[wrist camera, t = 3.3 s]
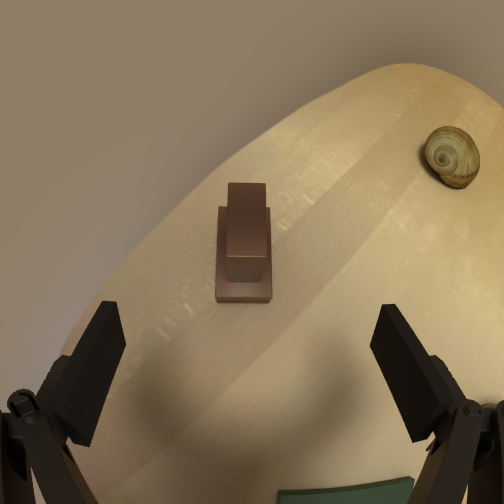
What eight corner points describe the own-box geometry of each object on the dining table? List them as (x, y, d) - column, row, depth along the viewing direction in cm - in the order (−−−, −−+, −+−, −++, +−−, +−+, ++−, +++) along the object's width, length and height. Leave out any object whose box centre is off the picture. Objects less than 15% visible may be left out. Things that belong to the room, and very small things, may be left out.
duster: (269, 303, 28) (283, 277, 20) (216, 302, 28) (209, 276, 20) (267, 219, 31) (278, 168, 23) (219, 218, 30) (215, 167, 22)
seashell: (441, 167, 40) (437, 114, 35) (484, 175, 35) (484, 120, 30) (419, 195, 35) (414, 133, 31) (471, 206, 30) (471, 141, 26)
